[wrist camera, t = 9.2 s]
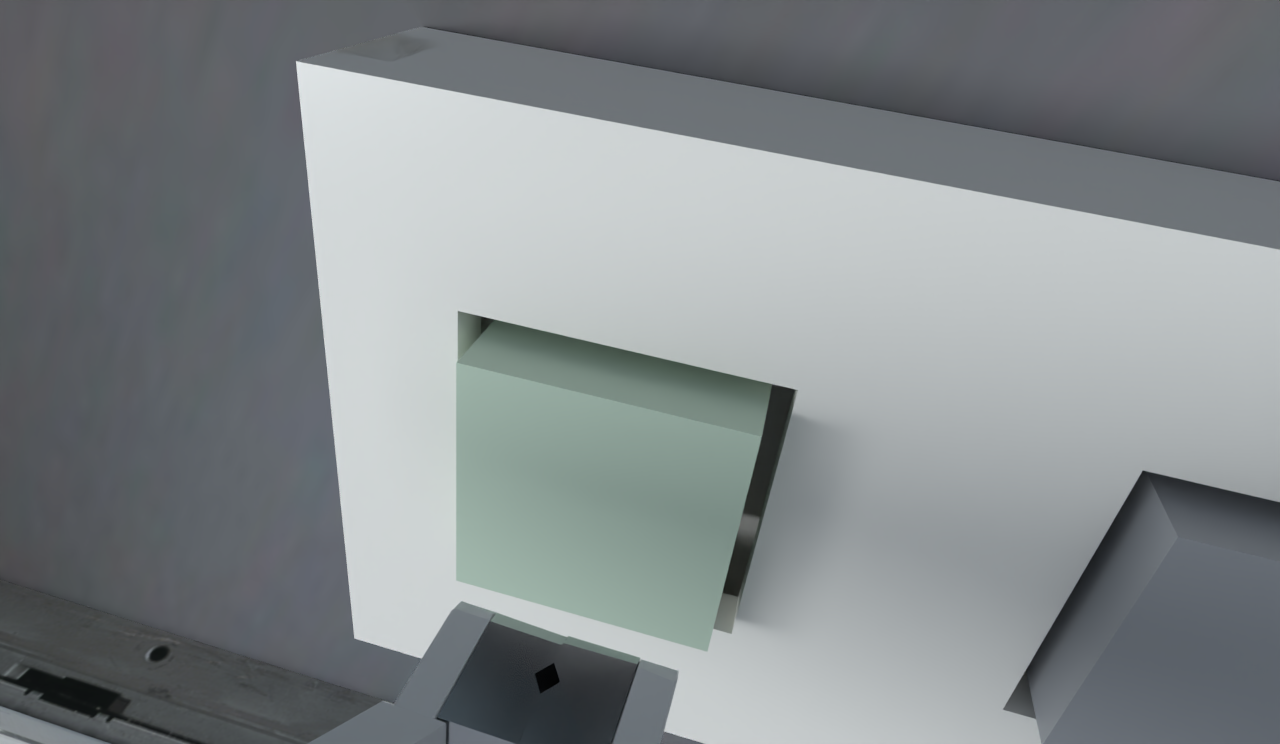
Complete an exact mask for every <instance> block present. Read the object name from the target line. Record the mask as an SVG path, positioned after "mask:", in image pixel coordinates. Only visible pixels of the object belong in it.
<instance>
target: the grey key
mask: <svg viewBox="0 0 1280 744" xmlns="http://www.w3.org/2000/svg"><path fill="white" fill-rule="evenodd" d="M1026 672H1027V677H1028V682H1029V687H1030V692H1031V696H1032V701H1033V706H1034V711H1035V716H1036V720H1037V725H1038V730H1039V735H1040V740H1041V744H1280V502H1277V501H1272V500H1268V499H1264V498H1259V497H1255V496H1251V495H1247V494H1242V493H1238V492H1234V491H1229V490H1225V489H1221V488H1216V487H1212V486H1208V485H1204V484H1199V483H1195V482H1191V481H1186V480H1182V479H1178V478H1173V477H1169V476H1165V475H1161V474H1156V473H1152V472H1148V471H1142V473H1141V474H1140V476H1139V478H1138V480H1137V481H1136V483H1135V485H1134V486H1133V488H1132V490H1131V492H1130V493H1129V495H1128V497H1127V498H1126V500H1125V502H1124V504H1123V505H1122V507H1121V509H1120V510H1119V512H1118V514H1117V515H1116V517H1115V519H1114V521H1113V522H1112V524H1111V526H1110V527H1109V529H1108V531H1107V533H1106V534H1105V536H1104V538H1103V539H1102V541H1101V543H1100V544H1099V546H1098V548H1097V550H1096V551H1095V553H1094V555H1093V556H1092V558H1091V560H1090V562H1089V563H1088V565H1087V567H1086V568H1085V570H1084V572H1083V573H1082V575H1081V577H1080V579H1079V580H1078V582H1077V584H1076V585H1075V587H1074V589H1073V591H1072V592H1071V594H1070V596H1069V597H1068V599H1067V601H1066V602H1065V604H1064V606H1063V608H1062V609H1061V611H1060V613H1059V614H1058V616H1057V618H1056V620H1055V621H1054V623H1053V625H1052V626H1051V628H1050V630H1049V631H1048V633H1047V635H1046V637H1045V638H1044V640H1043V642H1042V643H1041V645H1040V647H1039V649H1038V650H1037V652H1036V654H1035V655H1034V657H1033V659H1032V660H1031V662H1030V664H1029V666H1028V667H1027V669H1026Z"/></svg>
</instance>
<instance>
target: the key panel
mask: <svg viewBox="0 0 1280 744" xmlns="http://www.w3.org/2000/svg"><path fill="white" fill-rule="evenodd" d="M296 65H297V75H298V85H299V95H300V105H301V115H302V125H303V135H304V144H305V154H306V164H307V174H308V184H309V194H310V204H311V214H312V223H313V233H314V243H315V253H316V263H317V273H318V283H319V293H320V303H321V312H322V322H323V332H324V342H325V352H326V362H327V372H328V382H329V391H330V401H331V411H332V421H333V431H334V441H335V451H336V461H337V470H338V480H339V490H340V500H341V510H342V520H343V530H344V540H345V549H346V559H347V569H348V579H349V589H350V599H351V609H352V619H353V629H354V638H355V639H358V640H362V641H365V642H368V643H372V644H375V645H378V646H382V647H385V648H388V649H392V650H395V651H398V652H402V653H405V654H408V655H412V656H415V657H418V658H421V659H422V657H423V656H424V654H425V652H426V651H427V649H428V648H429V646H430V644H431V643H432V641H433V639H434V638H435V636H436V635H437V633H438V631H439V630H440V628H441V627H442V625H443V623H444V622H445V620H446V618H447V617H448V615H449V614H450V612H451V610H452V609H454V608H455V607H456V606H457V605H458V604H459V603H460V602H461V601H463V602H466V603H469V604H472V605H475V606H478V607H481V608H484V609H487V610H491V611H494V612H497V613H499V614H502V615H505V616H508V617H511V618H513V619H516V620H519V621H522V622H525V623H528V624H531V625H534V626H536V627H539V628H542V629H545V630H548V631H551V632H554V633H557V634H560V635H562V636H565V637H568V636H570V637H574V638H577V639H580V640H583V641H587V642H590V643H593V644H597V645H600V646H603V647H607V648H610V649H613V650H616V651H620V652H623V653H626V654H630V655H633V656H636V657H639V658H641V659H642V660H645V661H648V662H652V663H655V664H658V665H661V666H665V667H668V668H671V669H674V670H678V671H679V674H678V680H677V684H676V688H675V692H674V695H673V699H672V703H671V707H670V711H669V715H668V718H667V722H666V726H665V730H664V731H665V732H668V733H671V734H675V735H678V736H681V737H685V738H688V739H691V740H695V741H698V742H701V743H705V744H1041V740H1040V735H1039V730H1038V725H1037V720H1036V716H1035V711H1034V706H1033V701H1032V696H1031V692H1030V687H1029V682H1028V677H1027V672H1026V669H1027V667H1028V666H1029V664H1030V662H1031V660H1032V659H1033V657H1034V655H1035V654H1036V652H1037V650H1038V649H1039V647H1040V645H1041V643H1042V642H1043V640H1044V638H1045V637H1046V635H1047V633H1048V631H1049V630H1050V628H1051V626H1052V625H1053V623H1054V621H1055V620H1056V618H1057V616H1058V614H1059V613H1060V611H1061V609H1062V608H1063V606H1064V604H1065V602H1066V601H1067V599H1068V597H1069V596H1070V594H1071V592H1072V591H1073V589H1074V587H1075V585H1076V584H1077V582H1078V580H1079V579H1080V577H1081V575H1082V573H1083V572H1084V570H1085V568H1086V567H1087V565H1088V563H1089V562H1090V560H1091V558H1092V556H1093V555H1094V553H1095V551H1096V550H1097V548H1098V546H1099V544H1100V543H1101V541H1102V539H1103V538H1104V536H1105V534H1106V533H1107V531H1108V529H1109V527H1110V526H1111V524H1112V522H1113V521H1114V519H1115V517H1116V515H1117V514H1118V512H1119V510H1120V509H1121V507H1122V505H1123V504H1124V502H1125V500H1126V498H1127V497H1128V495H1129V493H1130V492H1131V490H1132V488H1133V486H1134V485H1135V483H1136V481H1137V480H1138V478H1139V476H1140V474H1141V473H1142V471H1148V472H1152V473H1156V474H1161V475H1165V476H1169V477H1173V478H1178V479H1182V480H1186V481H1191V482H1195V483H1199V484H1204V485H1208V486H1212V487H1216V488H1221V489H1225V490H1229V491H1234V492H1238V493H1242V494H1247V495H1251V496H1255V497H1259V498H1264V499H1268V500H1272V501H1277V502H1280V182H1279V181H1274V180H1268V179H1263V178H1257V177H1251V176H1246V175H1240V174H1235V173H1229V172H1224V171H1218V170H1213V169H1207V168H1202V167H1196V166H1191V165H1185V164H1179V163H1174V162H1168V161H1163V160H1157V159H1152V158H1146V157H1141V156H1135V155H1130V154H1124V153H1118V152H1113V151H1107V150H1102V149H1096V148H1091V147H1085V146H1080V145H1074V144H1069V143H1063V142H1057V141H1052V140H1046V139H1041V138H1035V137H1030V136H1024V135H1019V134H1013V133H1008V132H1002V131H997V130H991V129H985V128H980V127H974V126H969V125H963V124H958V123H952V122H947V121H941V120H936V119H930V118H924V117H919V116H913V115H908V114H902V113H897V112H891V111H886V110H880V109H875V108H869V107H863V106H858V105H852V104H847V103H841V102H836V101H830V100H825V99H819V98H814V97H808V96H803V95H797V94H791V93H786V92H780V91H775V90H769V89H764V88H758V87H753V86H747V85H742V84H736V83H730V82H725V81H719V80H714V79H708V78H703V77H697V76H692V75H686V74H681V73H675V72H669V71H664V70H658V69H653V68H647V67H642V66H636V65H631V64H625V63H620V62H614V61H609V60H603V59H597V58H592V57H586V56H581V55H575V54H570V53H564V52H559V51H553V50H548V49H542V48H536V47H531V46H525V45H520V44H514V43H509V42H503V41H498V40H492V39H487V38H481V37H475V36H470V35H464V34H459V33H453V32H448V31H442V30H437V29H431V28H426V27H418V28H415V29H411V30H407V31H404V32H400V33H396V34H393V35H389V36H386V37H382V38H378V39H375V40H371V41H368V42H364V43H360V44H357V45H353V46H350V47H346V48H342V49H339V50H335V51H331V52H328V53H324V54H321V55H317V56H313V57H310V58H306V59H303V60H299V61H296ZM494 320H499V321H503V322H508V323H512V324H516V325H520V326H525V327H529V328H533V329H538V330H542V331H546V332H550V333H555V334H559V335H563V336H568V337H572V338H576V339H581V340H585V341H589V342H593V343H598V344H602V345H606V346H611V347H615V348H619V349H624V350H628V351H632V352H636V353H641V354H645V355H649V356H654V357H658V358H662V359H666V360H671V361H675V362H679V363H684V364H688V365H692V366H697V367H701V368H705V369H709V370H714V371H718V372H722V373H727V374H731V375H735V376H740V377H744V378H748V379H752V380H757V381H761V382H765V383H770V384H772V388H771V393H770V398H769V403H768V408H767V413H766V418H765V423H764V429H763V434H762V438H761V442H760V446H759V450H758V454H757V458H756V462H755V466H754V470H753V474H752V478H751V482H750V486H749V490H748V493H747V497H746V501H745V505H744V509H743V513H742V517H741V521H740V525H739V529H738V533H737V537H736V541H735V545H734V549H733V553H732V557H731V560H730V564H729V568H728V572H727V576H726V580H725V584H724V588H723V592H722V596H721V600H720V604H719V608H718V612H717V616H716V620H715V624H714V628H713V631H712V635H711V639H710V643H709V647H708V651H707V652H706V651H703V650H699V649H696V648H692V647H689V646H685V645H682V644H678V643H674V642H671V641H667V640H664V639H660V638H657V637H653V636H650V635H646V634H643V633H639V632H636V631H632V630H629V629H625V628H622V627H618V626H615V625H611V624H607V623H604V622H600V621H597V620H593V619H590V618H586V617H583V616H579V615H576V614H572V613H569V612H565V611H562V610H558V609H555V608H551V607H548V606H544V605H540V604H537V603H533V602H530V601H526V600H523V599H519V598H516V597H512V596H509V595H505V594H502V593H498V592H495V591H491V590H488V589H484V588H481V587H477V586H474V585H470V584H466V583H463V582H459V581H456V362H457V361H458V360H459V359H460V358H461V357H462V356H463V355H464V353H465V352H466V351H467V350H468V349H469V348H470V347H471V346H472V344H473V343H474V342H475V341H476V340H477V339H478V338H479V337H480V335H481V334H482V333H483V332H484V331H485V330H486V329H487V328H488V327H489V325H490V324H491V323H492V322H493V321H494ZM641 659H640V661H641Z"/></svg>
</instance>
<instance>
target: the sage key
mask: <svg viewBox="0 0 1280 744" xmlns="http://www.w3.org/2000/svg"><path fill="white" fill-rule="evenodd" d="M771 388H772V384H770V383H765V382H761V381H757V380H752V379H748V378H744V377H740V376H735V375H731V374H727V373H722V372H718V371H714V370H709V369H705V368H701V367H697V366H692V365H688V364H684V363H679V362H675V361H671V360H666V359H662V358H658V357H654V356H649V355H645V354H641V353H636V352H632V351H628V350H624V349H619V348H615V347H611V346H606V345H602V344H598V343H593V342H589V341H585V340H581V339H576V338H572V337H568V336H563V335H559V334H555V333H550V332H546V331H542V330H538V329H533V328H529V327H525V326H520V325H516V324H512V323H508V322H503V321H499V320H494V321H493V322H492V323H491V324H490V325H489V327H488V328H487V329H486V330H485V331H484V332H483V333H482V334H481V335H480V337H479V338H478V339H477V340H476V341H475V342H474V343H473V344H472V346H471V347H470V348H469V349H468V350H467V351H466V352H465V353H464V355H463V356H462V357H461V358H460V359H459V360H458V361H457V362H456V581H459V582H463V583H466V584H470V585H474V586H477V587H481V588H484V589H488V590H491V591H495V592H498V593H502V594H505V595H509V596H512V597H516V598H519V599H523V600H526V601H530V602H533V603H537V604H540V605H544V606H548V607H551V608H555V609H558V610H562V611H565V612H569V613H572V614H576V615H579V616H583V617H586V618H590V619H593V620H597V621H600V622H604V623H607V624H611V625H615V626H618V627H622V628H625V629H629V630H632V631H636V632H639V633H643V634H646V635H650V636H653V637H657V638H660V639H664V640H667V641H671V642H674V643H678V644H682V645H685V646H689V647H692V648H696V649H699V650H703V651H706V652H707V651H708V647H709V643H710V639H711V635H712V631H713V628H714V624H715V620H716V616H717V612H718V608H719V604H720V600H721V596H722V592H723V588H724V584H725V580H726V576H727V572H728V568H729V564H730V560H731V557H732V553H733V549H734V545H735V541H736V537H737V533H738V529H739V525H740V521H741V517H742V513H743V509H744V505H745V501H746V497H747V493H748V490H749V486H750V482H751V478H752V474H753V470H754V466H755V462H756V458H757V454H758V450H759V446H760V442H761V438H762V434H763V429H764V423H765V418H766V413H767V408H768V403H769V398H770V393H771Z"/></svg>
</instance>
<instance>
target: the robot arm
mask: <svg viewBox="0 0 1280 744" xmlns="http://www.w3.org/2000/svg"><path fill="white" fill-rule="evenodd" d="M640 659H641V658H639V657H636V656H633V655H630V654H626V653H623V652H620V651H616V650H613V649H610V648H607V647H603V646H600V645H597V644H593V643H590V642H587V641H583V640H580V639H577V638H574V637H570V636H568V637H565V636H562V635H560V634H557V633H554V632H551V631H548V630H545V629H542V628H539V627H536V626H534V625H531V624H528V623H525V622H522V621H519V620H516V619H513V618H511V617H508V616H505V615H502V614H499V613H497V612H494V611H491V610H487V609H484V608H481V607H478V606H475V605H472V604H469V603H466V602H463V601H461V602H460V603H459V604H458V605H457V606H456V607H455V608H454V609H452V610H451V612H450V614H449V615H448V617H447V618H446V620H445V622H444V623H443V625H442V627H441V628H440V630H439V631H438V633H437V635H436V636H435V638H434V639H433V641H432V643H431V644H430V646H429V648H428V649H427V651H426V652H425V654H424V656H423V657H422V659H421V660H420V662H419V664H418V665H417V667H416V669H415V670H414V672H413V673H412V675H411V677H410V678H409V680H408V681H407V683H406V685H405V686H404V688H403V690H402V691H401V693H400V694H399V696H398V698H397V699H396V701H395V702H394V704H392V703H389V702H385V701H381V702H380V703H378V704H376V705H374V706H373V707H371V708H369V709H367V710H366V711H364V712H362V713H360V714H359V715H357V716H355V717H353V718H352V719H350V720H348V721H346V722H345V723H343V724H341V725H339V726H338V727H336V728H334V729H332V730H330V731H329V732H327V733H325V734H323V735H322V736H320V737H318V738H316V739H315V740H313V741H311V742H309V743H308V744H661V742H662V738H663V734H664V730H665V726H666V722H667V718H668V715H669V711H670V707H671V703H672V699H673V695H674V692H675V688H676V684H677V680H678V674H679V671H678V670H674V669H671V668H668V667H665V666H661V665H658V664H655V663H652V662H648V661H645V660H642V659H641V661H640Z"/></svg>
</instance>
